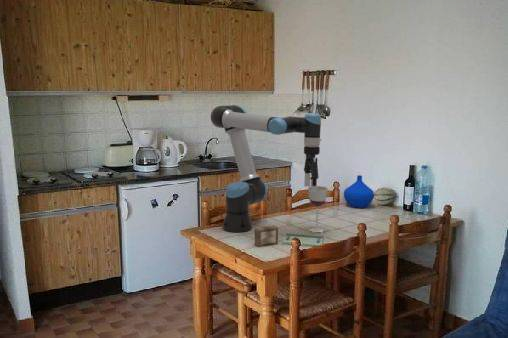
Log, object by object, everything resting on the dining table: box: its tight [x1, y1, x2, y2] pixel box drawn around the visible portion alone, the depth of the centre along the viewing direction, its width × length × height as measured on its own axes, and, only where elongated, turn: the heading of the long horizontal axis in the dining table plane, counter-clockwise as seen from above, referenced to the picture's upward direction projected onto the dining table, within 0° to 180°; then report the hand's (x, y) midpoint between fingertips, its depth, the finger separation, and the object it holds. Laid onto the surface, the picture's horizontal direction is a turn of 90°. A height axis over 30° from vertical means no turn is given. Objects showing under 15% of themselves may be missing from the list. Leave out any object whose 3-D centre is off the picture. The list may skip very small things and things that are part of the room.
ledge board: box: [281, 232, 325, 247], centre depth 215 cm, size 18×12×2 cm, turn 76°
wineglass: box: [307, 185, 328, 233], centre depth 232 cm, size 9×10×22 cm
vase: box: [343, 174, 375, 209], centre depth 283 cm, size 18×18×19 cm
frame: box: [254, 225, 279, 248], centre depth 211 cm, size 10×4×8 cm, turn 116°
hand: (310, 189), depth 224 cm, fingers open, 13 cm apart
